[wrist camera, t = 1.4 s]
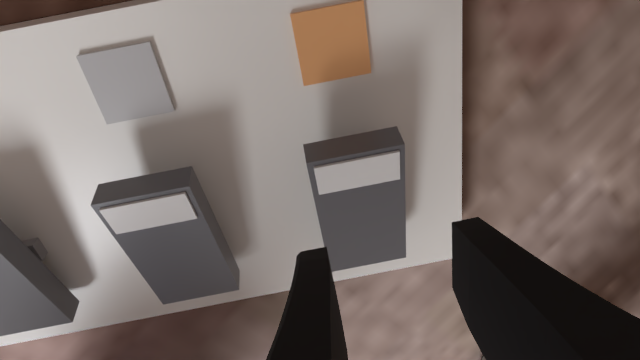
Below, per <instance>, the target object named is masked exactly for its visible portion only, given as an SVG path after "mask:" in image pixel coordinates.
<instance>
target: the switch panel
mask: <svg viewBox="0 0 640 360" xmlns="http://www.w3.org/2000/svg"><path fill="white" fill-rule="evenodd" d="M395 126H397V128H398V130H399V132H400V134H401V137H402V139H403V141H404V143H405V199H406V258H401V259H396V260H391V261H385V262H380V263H375V264H370V265H365V266H360V267H355V268H349V269H344V270H339V271H334V272H332V275H333V280H334V281H340V280H345V279H350V278H355V277H360V276H365V275H371V274H376V273H381V272H386V271H391V270H396V269H401V268H407V267H412V266H417V265H422V264H427V263H432V262H437V261H443V260H448V259H452V222H456V221H461V220H462V0H132V1H127V2H122V3H117V4H112V5H106V6H101V7H96V8H91V9H86V10H81V11H76V12H71V13H65V14H60V15H55V16H50V17H45V18H40V19H35V20H29V21H24V22H19V23H14V24H9V25H4V26H0V219H1V220H2V222H3V223H4V224H5V225H6V226H7V227H8V228H9V229H10V230H11V231H12V232H13V233H14V234H15V235H16V236H17V237H18V238H19V239H20V240H21V241H22V242H23V243H24V244H25V245H26V246H27V247H28V248H29V249H30V250H31V251H32V252H33V254H34V255H35V256H36V257H37V258H38V259H39V260H40V261H41V262H42V263H43V264H44V265H45V266H46V267H47V268H48V269H49V270H50V271H51V272H52V273H53V274H54V275H55V276H56V277H57V278H58V279H59V280H60V281H61V282H62V283H63V284H64V286H65V287H66V288H67V289H68V290H69V291H70V292H71V293H72V294H73V295H74V296H75V297H76V298H77V299H78V300H79V301H80V302H79V305H78V308H77V311H76V314H75V317H74V320H73V322H72V323H66V324H61V325H56V326H51V327H46V328H41V329H36V330H30V331H25V332H20V333H15V334H10V335H5V336H0V346H5V345H10V344H15V343H21V342H26V341H31V340H36V339H41V338H46V337H51V336H57V335H62V334H67V333H72V332H77V331H82V330H88V329H93V328H98V327H103V326H108V325H113V324H118V323H124V322H129V321H134V320H139V319H144V318H149V317H154V316H160V315H165V314H170V313H175V312H180V311H185V310H190V309H196V308H201V307H206V306H211V305H216V304H221V303H226V302H232V301H237V300H242V299H247V298H252V297H257V296H262V295H268V294H273V293H278V292H283V291H288V290H290V288H291V284H292V280H293V275H294V270H295V265H296V256H297V255H298V254H299V253H300V252H301V251H307V250H312V249H317V248H322V247H324V243H323V238H322V234H321V229H320V224H319V220H318V215H317V211H316V206H315V201H314V197H313V192H312V187H311V183H310V178H309V174H308V169H307V164H306V159H305V153H304V147H303V144H307V143H313V142H318V141H323V140H328V139H333V138H338V137H343V136H348V135H354V134H359V133H364V132H369V131H374V130H379V129H384V128H390V127H395ZM189 166H192V167H193V169H194V172H195V174H196V176H197V178H198V180H199V182H200V185H201V187H202V189H203V191H204V193H205V196H206V198H207V200H208V202H209V204H210V206H211V209H212V211H213V213H214V215H215V217H216V220H217V222H218V224H219V226H220V228H221V230H222V233H223V235H224V237H225V239H226V241H227V244H228V246H229V248H230V250H231V252H232V254H233V257H234V259H235V261H236V263H237V265H238V268H239V270H240V283H239V290H236V291H231V292H226V293H221V294H216V295H210V296H205V297H200V298H195V299H190V300H185V301H180V302H174V303H169V304H164V305H163V304H162V302H161V301H160V300H159V298H158V297H157V295H156V294H155V293H154V291H153V290H152V289H151V287H150V286H149V284H148V283H147V282H146V280H145V279H144V278H143V276H142V275H141V274H140V272H139V271H138V269H137V268H136V267H135V265H134V264H133V263H132V261H131V260H130V259H129V257H128V256H127V254H126V253H125V252H124V250H123V249H122V248H121V246H120V245H119V243H118V242H117V241H116V239H115V238H114V237H113V235H112V234H111V233H110V231H109V230H108V228H107V227H106V226H105V224H104V223H103V222H102V220H101V219H100V217H99V216H98V215H97V213H96V212H95V211H94V209H93V208H92V207H91V203H92V200H93V197H94V195H95V192H96V189H97V186H98V184H102V183H107V182H112V181H117V180H122V179H128V178H133V177H138V176H143V175H148V174H153V173H158V172H163V171H169V170H174V169H179V168H184V167H189Z"/></svg>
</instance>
